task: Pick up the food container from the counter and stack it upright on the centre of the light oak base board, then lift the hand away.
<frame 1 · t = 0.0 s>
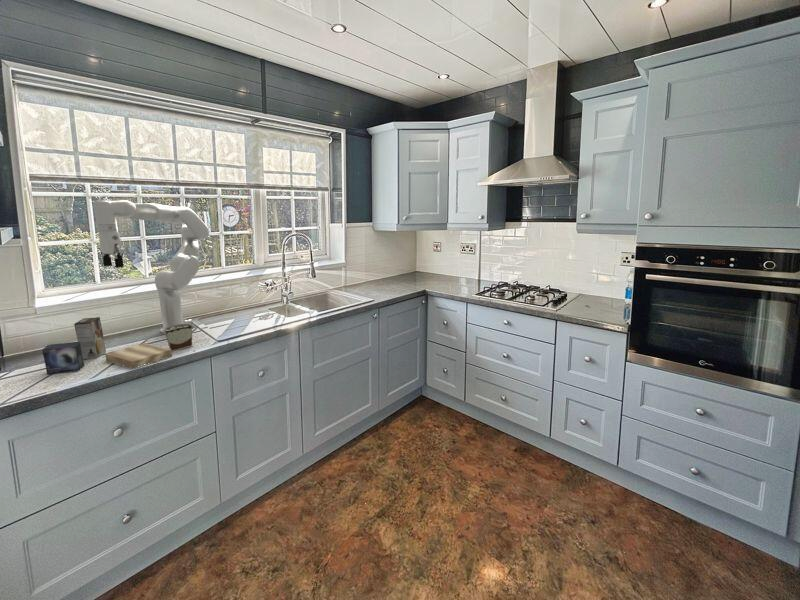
hand: (113, 266, 183), 37 cm above the worktop, tool pointing down, fingers open, 9 cm apart
oak base: (139, 358, 171), on the worktop
coffee box: (94, 355, 175), on the worktop
food container: (178, 347, 185), on the worktop
small box: (66, 370, 159), on the worktop
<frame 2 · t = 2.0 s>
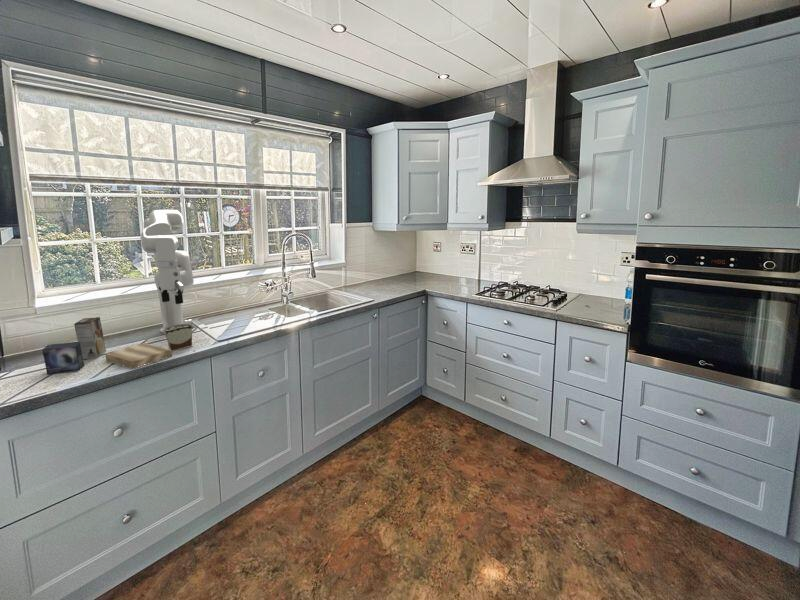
hand: (172, 302, 180), 21 cm above the worktop, tool pointing down, fingers open, 9 cm apart
nothing on the worktop moved.
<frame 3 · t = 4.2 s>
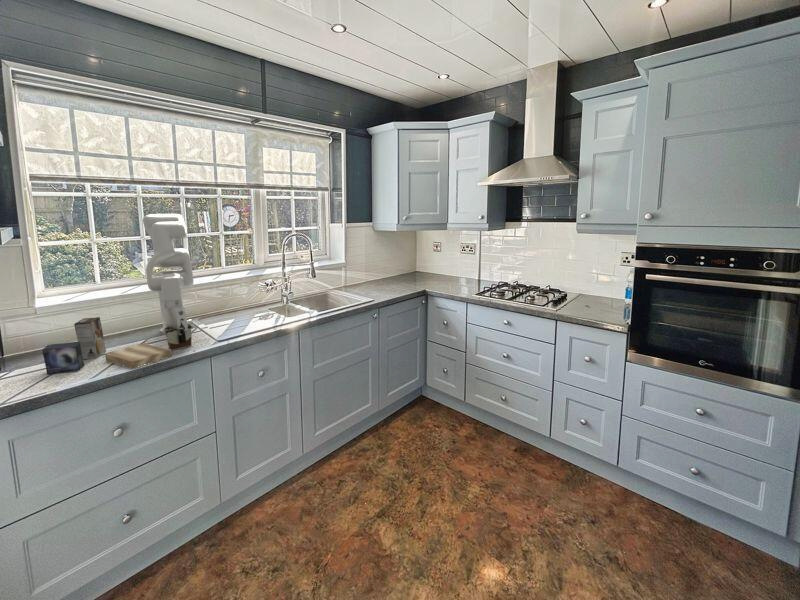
hand: (178, 341, 184), 3 cm above the worktop, tool pointing down, fingers closed on food container, 5 cm apart
food container: (178, 347, 185), on the worktop, touching gripper
everything else where it was.
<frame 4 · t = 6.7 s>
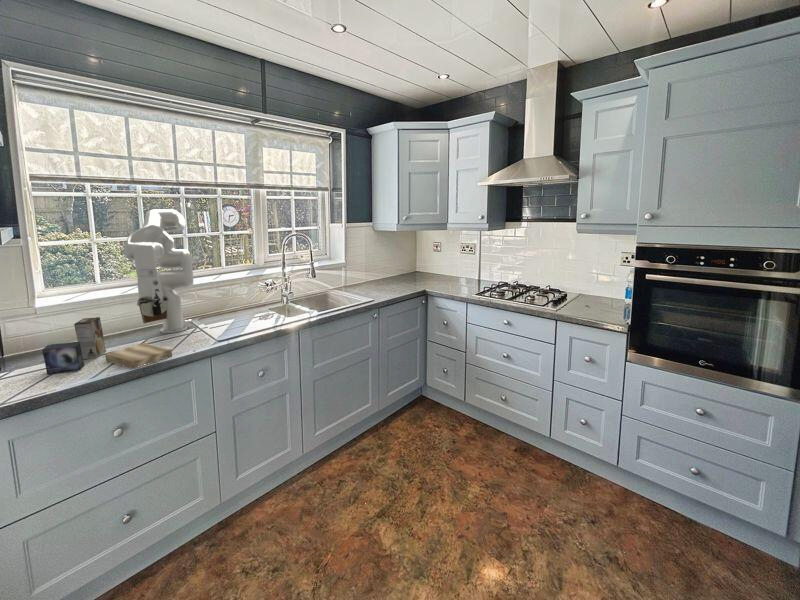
hand: (153, 314, 174), 18 cm above the worktop, tool pointing down, fingers closed on food container, 5 cm apart
food container: (152, 320, 175), point 15 cm above the worktop, touching gripper
everything else where it was.
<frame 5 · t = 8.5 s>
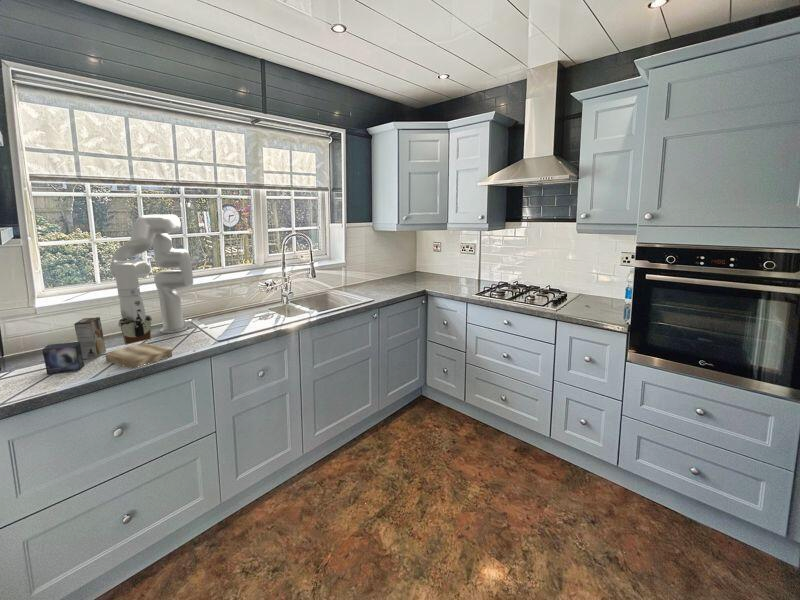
hand: (135, 334, 169), 11 cm above the worktop, tool pointing down, fingers closed on food container, 5 cm apart
food container: (135, 340, 170), point 8 cm above the worktop, touching gripper
everything else where it was.
when the fingers open (7 cm above the worktop, at t = 9.6 s): food container moves 1 cm, resting on oak base.
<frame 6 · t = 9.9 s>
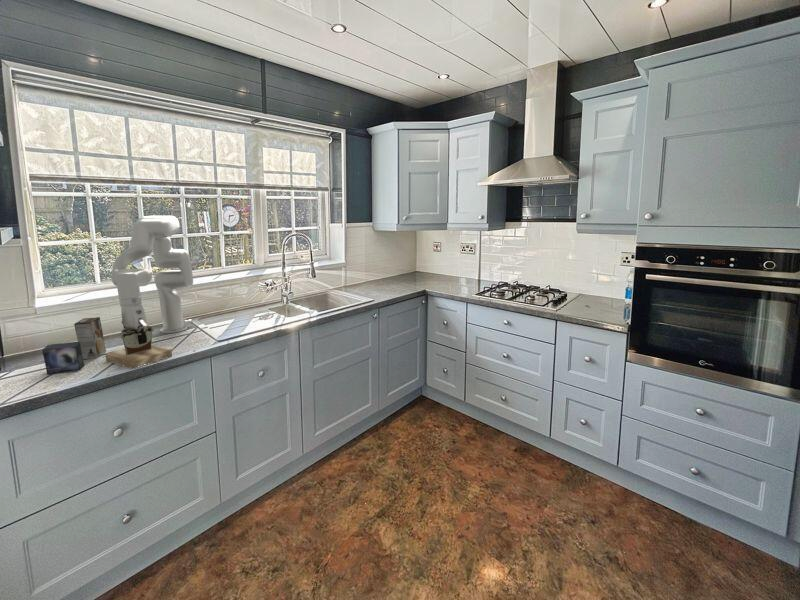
hand: (137, 341, 169), 7 cm above the worktop, tool pointing down, fingers open, 8 cm apart
food container: (136, 350, 171), point 3 cm above the worktop, touching gripper, oak base
everything else where it was.
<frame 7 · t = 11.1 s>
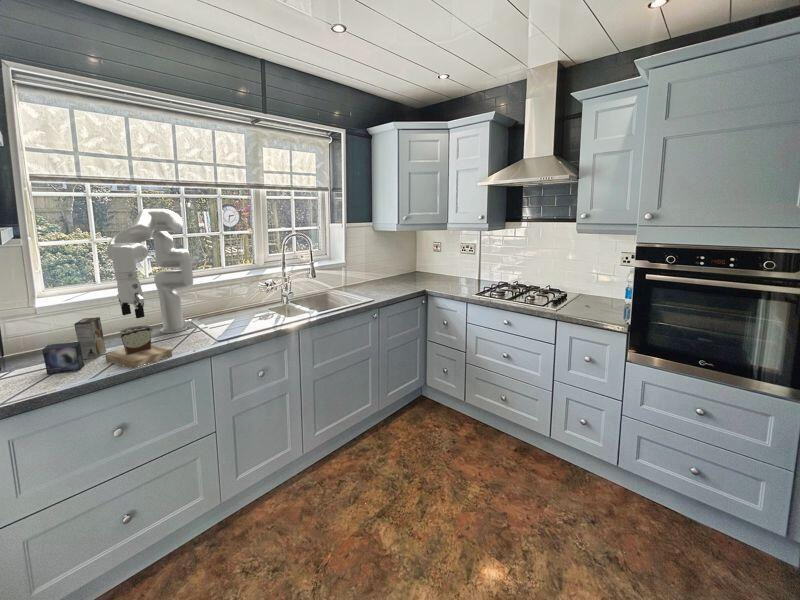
hand: (133, 316, 168), 19 cm above the worktop, tool pointing down, fingers open, 9 cm apart
food container: (136, 351, 171), point 3 cm above the worktop, touching oak base
everything else where it was.
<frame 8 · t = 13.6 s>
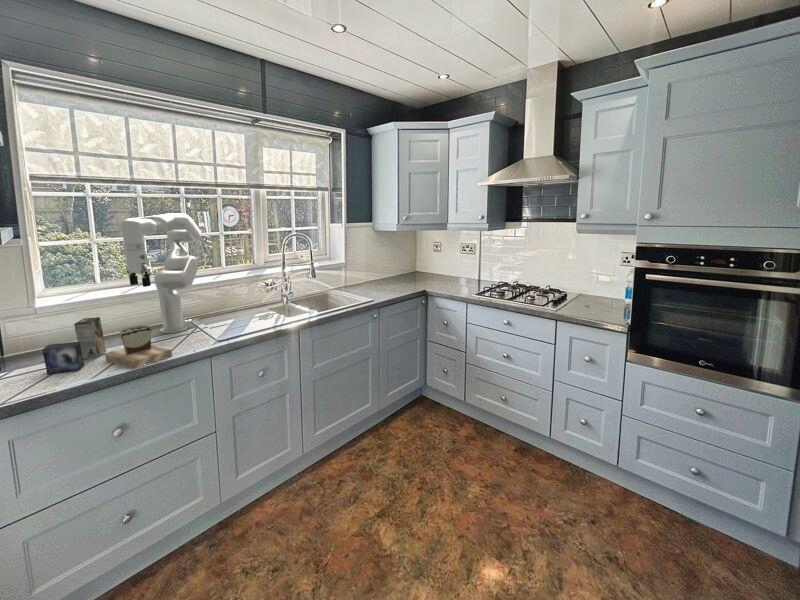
hand: (140, 285, 183), 28 cm above the worktop, tool pointing down, fingers open, 9 cm apart
nothing on the worktop moved.
at the end: food container inside the target area on the oak base (2.0 cm from its centre), point 2.8 cm above the oak base's base; food container tilted 0°; the gripper is holding nothing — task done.
